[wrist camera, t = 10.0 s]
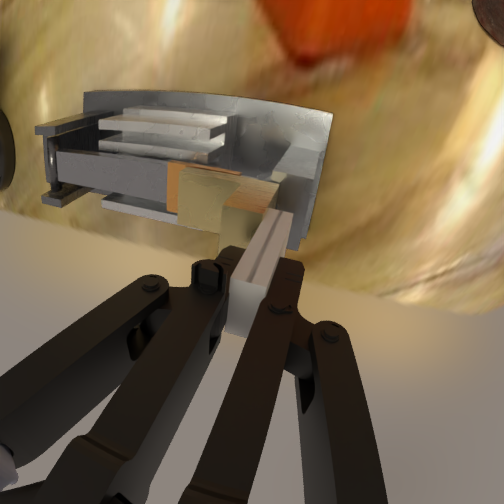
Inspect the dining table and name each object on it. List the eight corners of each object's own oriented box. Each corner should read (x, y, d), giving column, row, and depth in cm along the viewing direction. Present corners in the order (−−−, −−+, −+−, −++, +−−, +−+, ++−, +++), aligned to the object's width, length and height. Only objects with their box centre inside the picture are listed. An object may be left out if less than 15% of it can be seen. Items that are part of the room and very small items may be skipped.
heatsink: (93, 186, 35) (34, 221, 26) (92, 90, 28) (23, 104, 20) (307, 232, 31) (294, 294, 22) (332, 112, 25) (334, 124, 16)
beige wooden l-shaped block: (184, 216, 21) (150, 249, 17) (187, 166, 19) (149, 190, 15) (270, 236, 20) (253, 276, 16) (279, 184, 18) (263, 213, 14)
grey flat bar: (57, 186, 25) (47, 192, 24) (53, 135, 23) (42, 138, 22) (251, 231, 22) (245, 240, 21) (261, 160, 20) (256, 165, 18)
